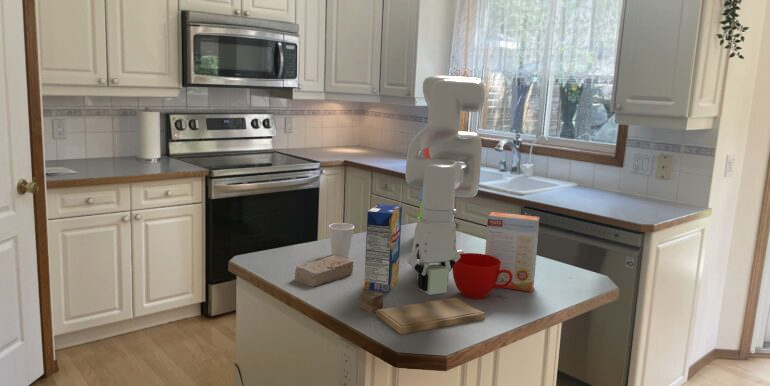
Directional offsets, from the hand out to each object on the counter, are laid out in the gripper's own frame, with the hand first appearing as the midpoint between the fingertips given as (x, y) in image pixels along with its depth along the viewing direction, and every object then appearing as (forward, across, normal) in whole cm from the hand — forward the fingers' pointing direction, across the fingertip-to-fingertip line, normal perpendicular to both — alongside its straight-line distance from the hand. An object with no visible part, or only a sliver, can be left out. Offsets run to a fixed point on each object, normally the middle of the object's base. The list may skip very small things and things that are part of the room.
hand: (432, 287), depth 149 cm
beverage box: (+8, 0, -26) cm, 27 cm away
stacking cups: (+7, -42, -66) cm, 78 cm away
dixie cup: (+8, -1, -56) cm, 56 cm away
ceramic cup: (+8, -21, -8) cm, 24 cm away
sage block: (+1, 0, 0) cm, 1 cm away
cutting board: (+8, 0, 0) cm, 8 cm away
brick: (+8, +12, -38) cm, 41 cm away
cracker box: (+8, -34, -12) cm, 37 cm away
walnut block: (+8, +11, -11) cm, 17 cm away
